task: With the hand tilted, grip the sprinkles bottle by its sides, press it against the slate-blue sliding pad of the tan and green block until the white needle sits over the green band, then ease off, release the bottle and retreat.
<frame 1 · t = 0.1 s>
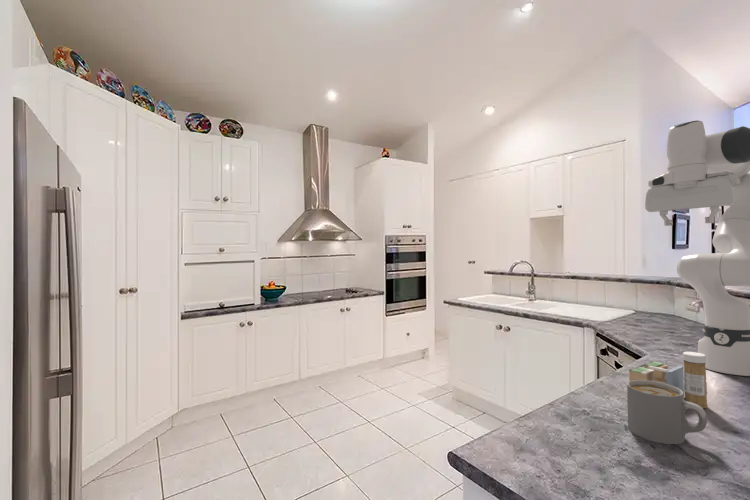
hand: (688, 224, 105), 48 cm above the countertop, tool pointing down, fingers open, 8 cm apart
sprinkles bottle: (695, 406, 94), on the countertop
coffee mug: (665, 436, 79), on the countertop
gauge plunger: (666, 381, 99), point 5 cm above the countertop, slide at 0.0 cm
tan and green block: (651, 393, 102), on the countertop
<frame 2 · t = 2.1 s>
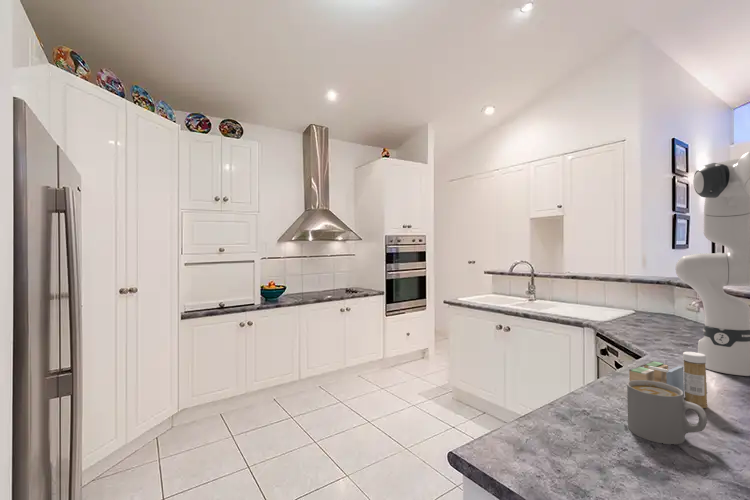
nothing on the countertop moved.
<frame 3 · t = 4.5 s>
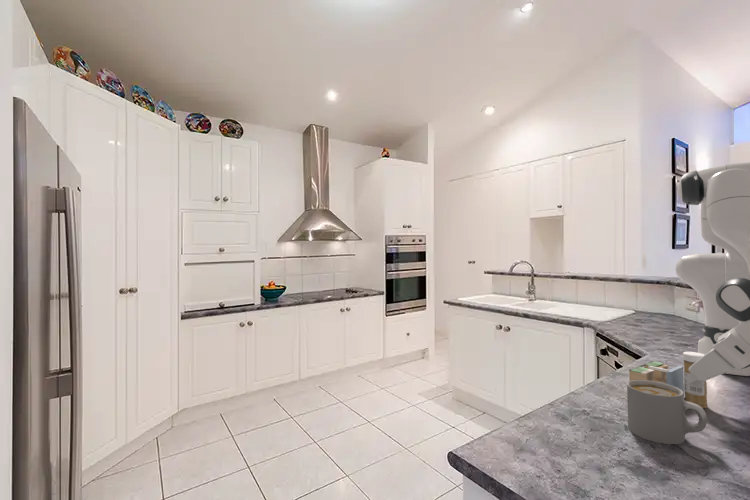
hand: (691, 377, 94), 7 cm above the countertop, tool tilted 45°, fingers closed on sprinkles bottle, 4 cm apart
sprinkles bottle: (695, 405, 94), on the countertop, touching gripper
everything else where it was.
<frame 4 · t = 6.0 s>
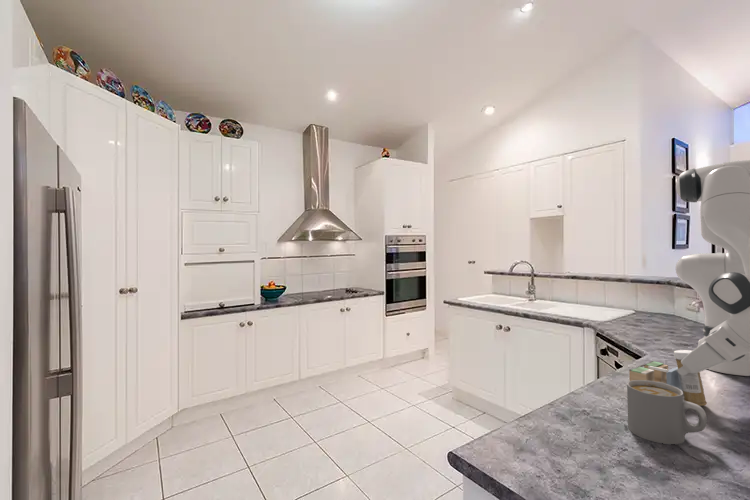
hand: (684, 370, 95), 8 cm above the countertop, tool tilted 45°, fingers closed on sprinkles bottle, 4 cm apart
sprinkles bottle: (695, 404, 94), on the countertop, touching gripper
everything else where it was.
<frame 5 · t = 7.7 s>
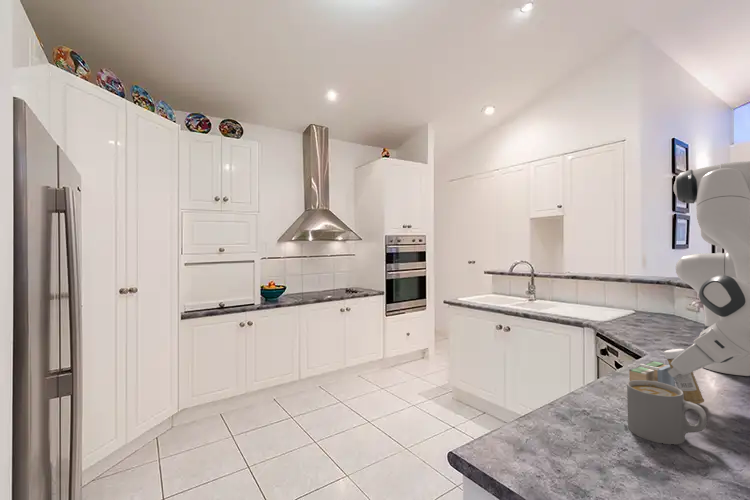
hand: (675, 372, 97), 7 cm above the countertop, tool tilted 45°, fingers closed on sprinkles bottle, 4 cm apart
sprinkles bottle: (693, 403, 94), on the countertop, touching gripper
gauge plunger: (657, 378, 100), point 5 cm above the countertop, slide at 2.0 cm
everything else where it was.
when the fingers open (7 cm above the countertop, at t = 7.8 s): sprinkles bottle stays where it is, on the countertop.
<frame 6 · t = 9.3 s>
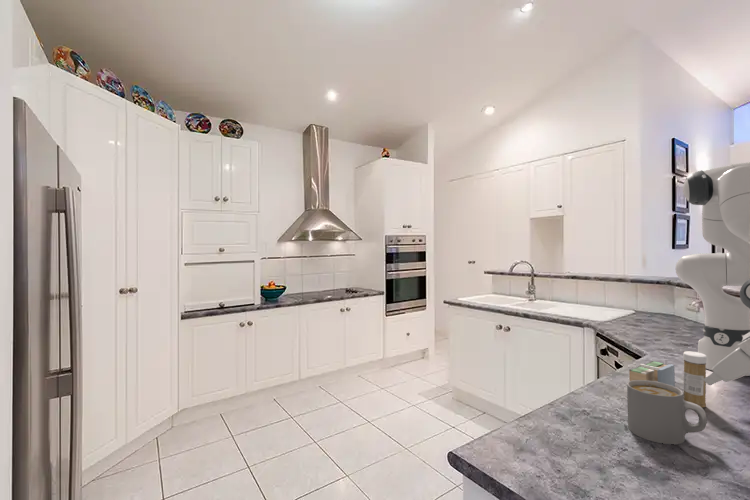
hand: (714, 378, 90), 8 cm above the countertop, tool tilted 45°, fingers open, 8 cm apart
sprinkles bottle: (694, 404, 94), on the countertop
everything else where it was.
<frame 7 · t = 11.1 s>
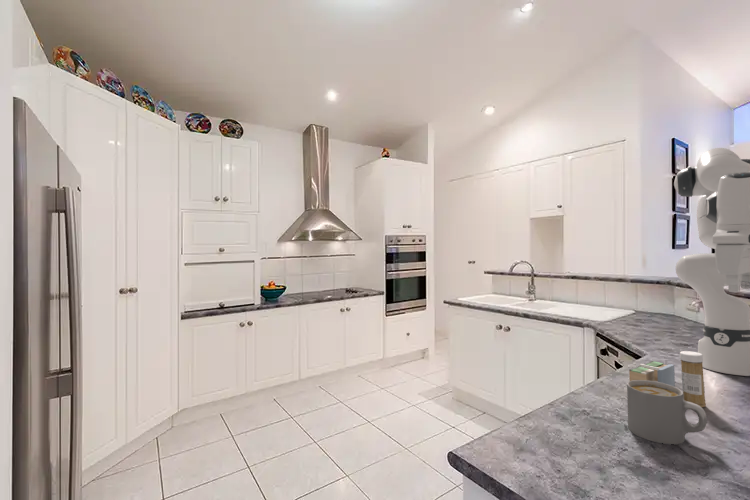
hand: (740, 290, 92), 30 cm above the countertop, tool pointing down, fingers open, 8 cm apart
nothing on the countertop moved.
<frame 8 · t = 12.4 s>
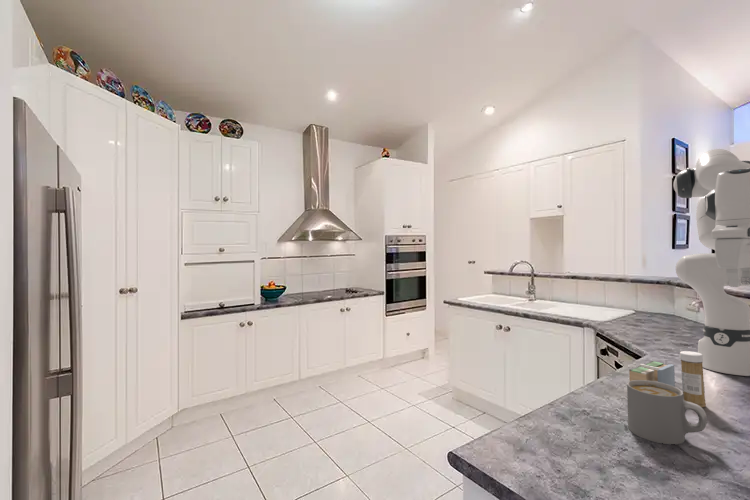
hand: (740, 285, 92), 31 cm above the countertop, tool pointing down, fingers open, 8 cm apart
nothing on the countertop moved.
at the end: gauge plunger slide at 2.0 cm; sprinkles bottle tilted 1°; the gripper is holding nothing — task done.
